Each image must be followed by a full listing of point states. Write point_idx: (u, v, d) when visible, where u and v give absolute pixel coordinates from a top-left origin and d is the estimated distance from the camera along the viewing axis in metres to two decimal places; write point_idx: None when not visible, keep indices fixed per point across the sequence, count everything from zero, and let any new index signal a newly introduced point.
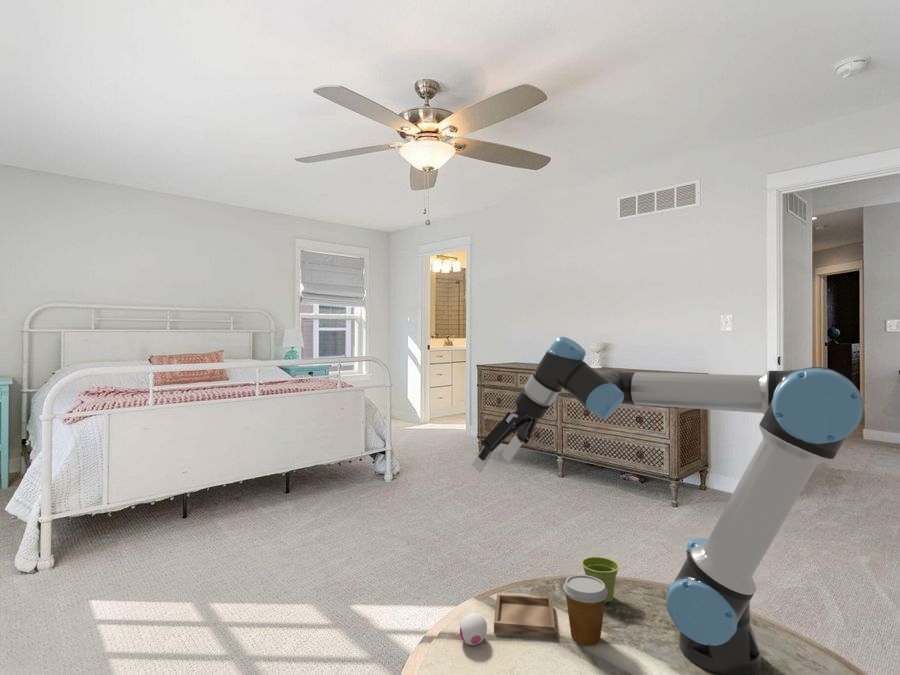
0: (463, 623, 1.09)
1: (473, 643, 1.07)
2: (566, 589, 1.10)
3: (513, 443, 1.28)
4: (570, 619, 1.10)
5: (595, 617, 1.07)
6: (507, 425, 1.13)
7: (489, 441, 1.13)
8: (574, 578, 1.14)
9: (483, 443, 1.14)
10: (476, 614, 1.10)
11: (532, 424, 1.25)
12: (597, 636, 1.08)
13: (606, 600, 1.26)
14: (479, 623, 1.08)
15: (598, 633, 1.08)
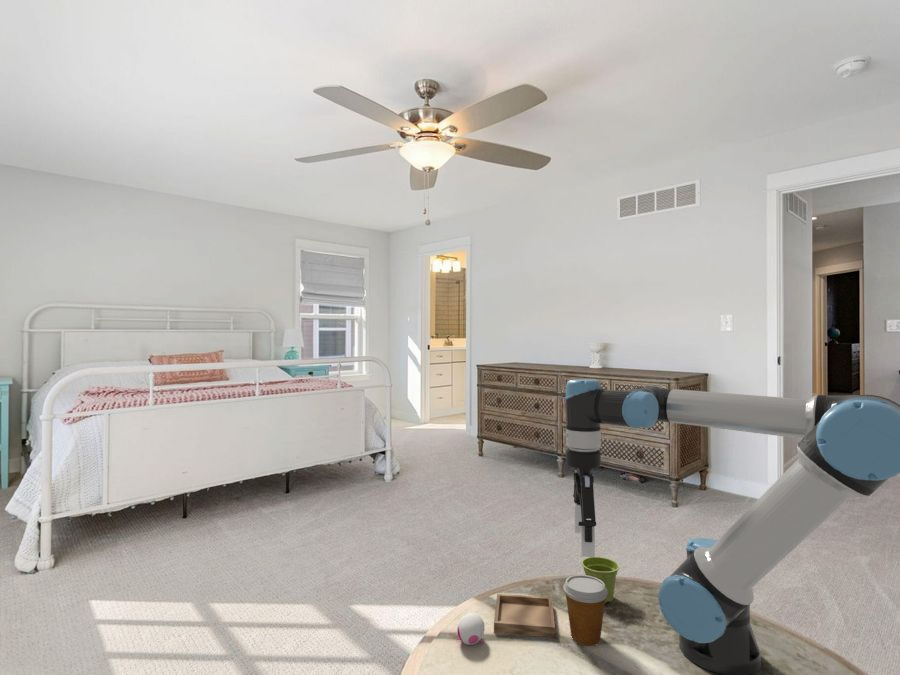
0: (461, 623, 1.09)
1: (470, 643, 1.07)
2: (566, 589, 1.10)
3: (578, 512, 1.18)
4: (570, 619, 1.10)
5: (595, 617, 1.07)
6: (590, 489, 1.05)
7: (589, 516, 1.02)
8: (574, 578, 1.14)
9: (586, 523, 1.02)
10: (474, 614, 1.11)
11: None
12: (597, 636, 1.08)
13: (606, 600, 1.26)
14: (476, 623, 1.08)
15: (598, 633, 1.08)
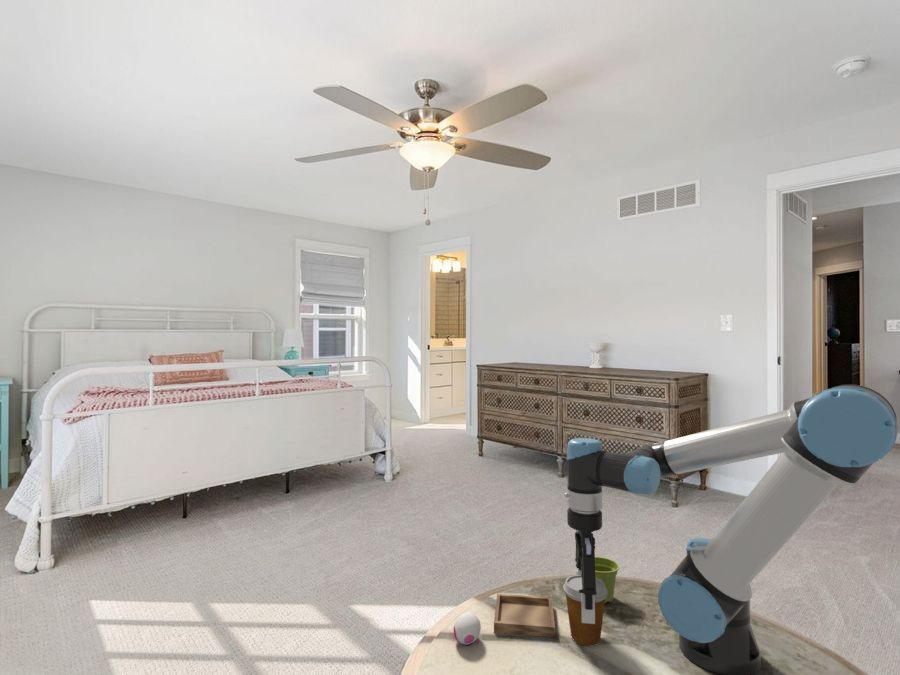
0: (457, 622, 1.09)
1: (466, 642, 1.07)
2: (566, 589, 1.10)
3: None
4: (570, 619, 1.10)
5: (595, 617, 1.07)
6: (591, 557, 1.05)
7: (590, 585, 1.03)
8: (574, 578, 1.14)
9: (586, 591, 1.03)
10: (470, 614, 1.11)
11: None
12: (597, 636, 1.08)
13: (606, 600, 1.26)
14: (472, 623, 1.08)
15: (598, 633, 1.08)
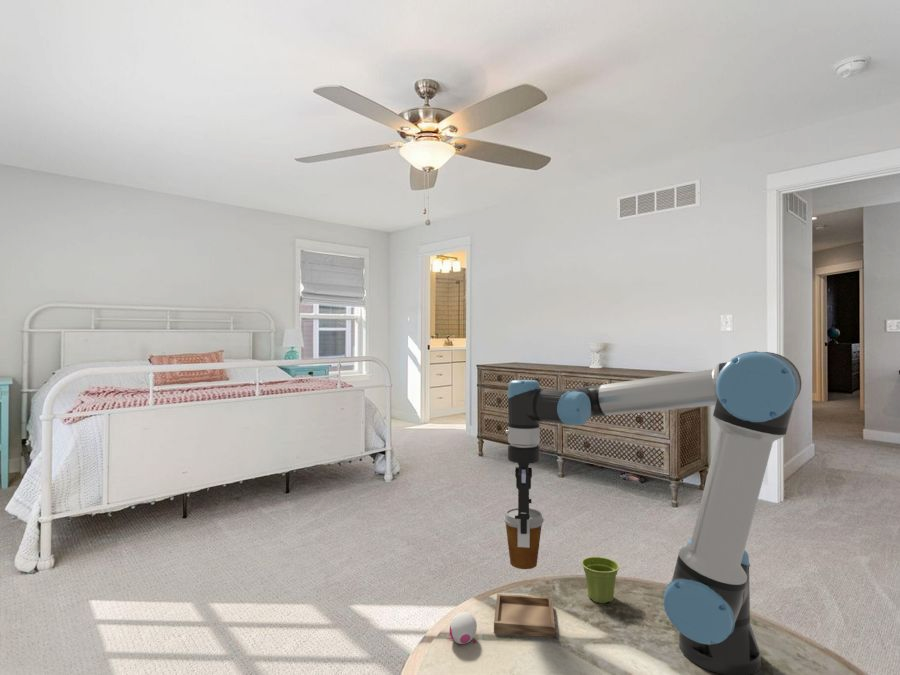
0: (453, 622, 1.09)
1: (462, 642, 1.07)
2: (505, 518, 1.19)
3: None
4: (509, 546, 1.19)
5: (530, 542, 1.16)
6: (526, 485, 1.13)
7: (524, 510, 1.12)
8: (515, 510, 1.23)
9: (520, 516, 1.11)
10: (466, 613, 1.11)
11: None
12: (533, 561, 1.17)
13: (606, 600, 1.26)
14: (468, 622, 1.08)
15: (534, 558, 1.17)
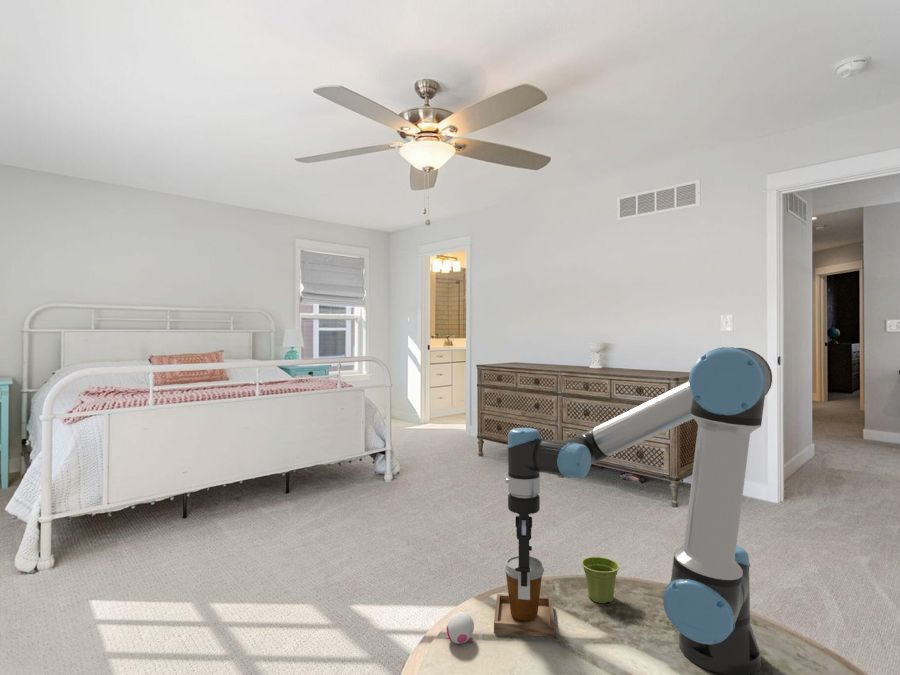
0: (450, 622, 1.09)
1: (459, 642, 1.07)
2: (505, 568, 1.18)
3: None
4: (509, 596, 1.18)
5: (531, 594, 1.15)
6: (526, 537, 1.13)
7: (524, 563, 1.11)
8: (515, 558, 1.22)
9: (521, 569, 1.11)
10: (463, 613, 1.11)
11: None
12: (534, 612, 1.16)
13: (606, 600, 1.26)
14: (465, 622, 1.08)
15: (534, 609, 1.16)
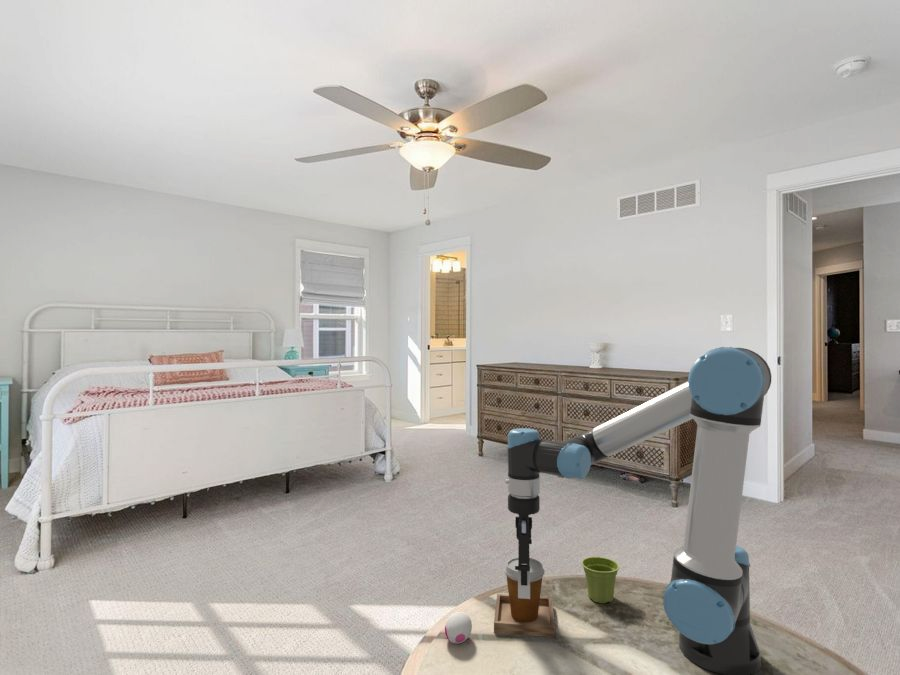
0: (448, 622, 1.09)
1: (457, 642, 1.07)
2: (506, 570, 1.18)
3: None
4: (509, 597, 1.18)
5: (531, 595, 1.15)
6: (526, 535, 1.12)
7: (524, 562, 1.10)
8: (515, 560, 1.22)
9: (520, 568, 1.10)
10: (461, 613, 1.11)
11: None
12: (534, 613, 1.16)
13: (606, 600, 1.26)
14: (463, 622, 1.08)
15: (535, 610, 1.16)
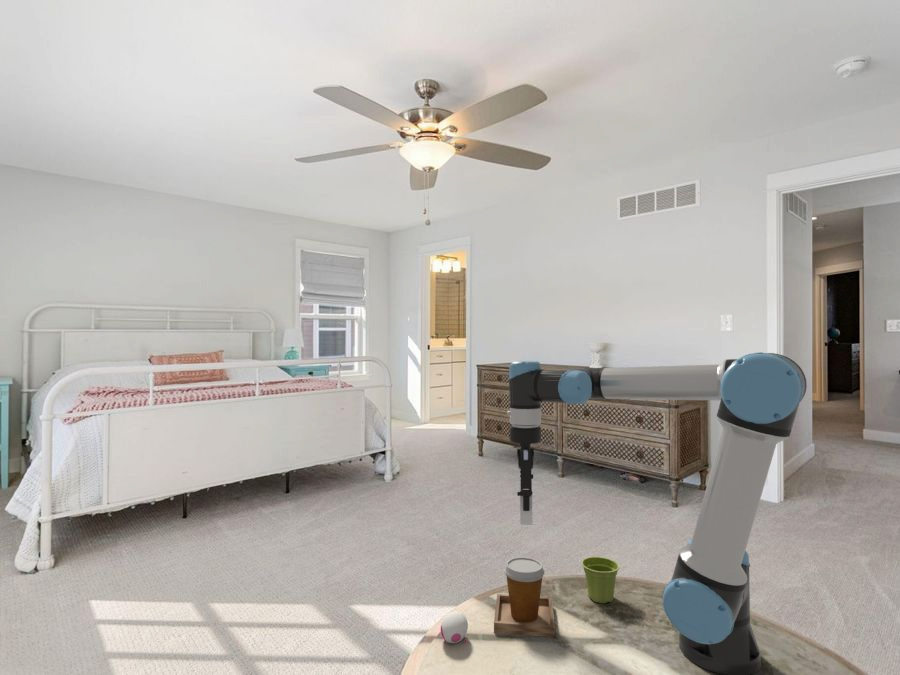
0: (444, 621, 1.09)
1: (453, 641, 1.07)
2: (506, 570, 1.18)
3: None
4: (509, 597, 1.18)
5: (531, 595, 1.15)
6: (528, 462, 1.13)
7: (526, 486, 1.10)
8: (515, 560, 1.22)
9: (523, 492, 1.10)
10: (457, 612, 1.11)
11: None
12: (534, 613, 1.16)
13: (606, 600, 1.26)
14: (459, 621, 1.08)
15: (535, 610, 1.16)
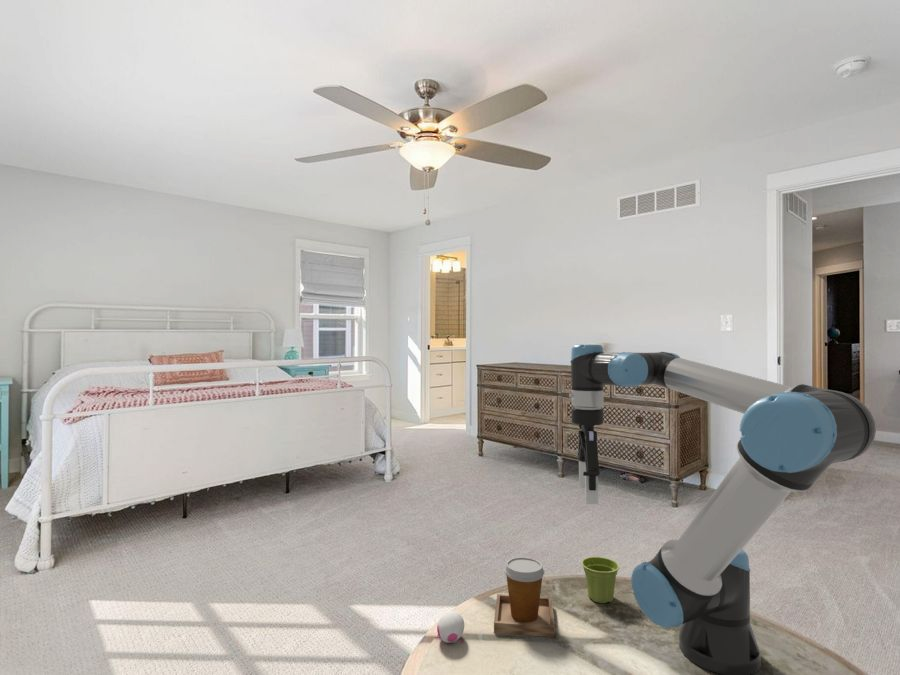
0: (440, 621, 1.10)
1: (450, 641, 1.07)
2: (506, 570, 1.18)
3: (583, 468, 1.28)
4: (509, 597, 1.18)
5: (531, 595, 1.15)
6: (594, 442, 1.15)
7: (593, 466, 1.12)
8: (515, 560, 1.22)
9: (590, 472, 1.12)
10: (453, 612, 1.11)
11: None
12: (534, 613, 1.16)
13: (606, 600, 1.26)
14: (456, 621, 1.09)
15: (535, 610, 1.16)
